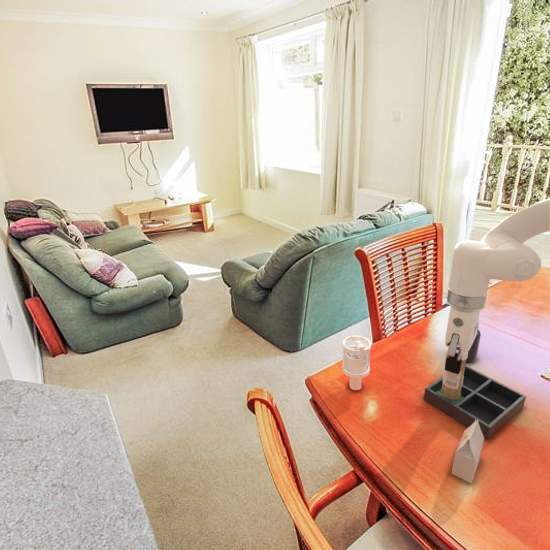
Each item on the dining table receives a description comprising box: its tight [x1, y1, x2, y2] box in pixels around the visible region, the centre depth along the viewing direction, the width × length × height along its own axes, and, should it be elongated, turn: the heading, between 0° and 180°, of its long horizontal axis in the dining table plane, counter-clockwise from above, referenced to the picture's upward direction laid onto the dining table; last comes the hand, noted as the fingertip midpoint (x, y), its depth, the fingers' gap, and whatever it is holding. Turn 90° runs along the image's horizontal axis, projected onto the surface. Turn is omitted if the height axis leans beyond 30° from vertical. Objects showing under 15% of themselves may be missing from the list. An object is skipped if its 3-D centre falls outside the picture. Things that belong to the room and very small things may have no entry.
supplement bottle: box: [466, 321, 481, 364], centre depth 107 cm, size 7×7×12 cm
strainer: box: [341, 334, 372, 391], centre depth 97 cm, size 7×7×15 cm
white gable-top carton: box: [451, 420, 485, 484], centre depth 74 cm, size 4×7×10 cm, turn 141°
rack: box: [423, 364, 527, 441], centre depth 92 cm, size 16×16×4 cm
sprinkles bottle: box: [441, 345, 468, 400], centre depth 90 cm, size 5×5×13 cm
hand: (455, 365), depth 89 cm, fingers closed on sprinkles bottle, 4 cm apart
